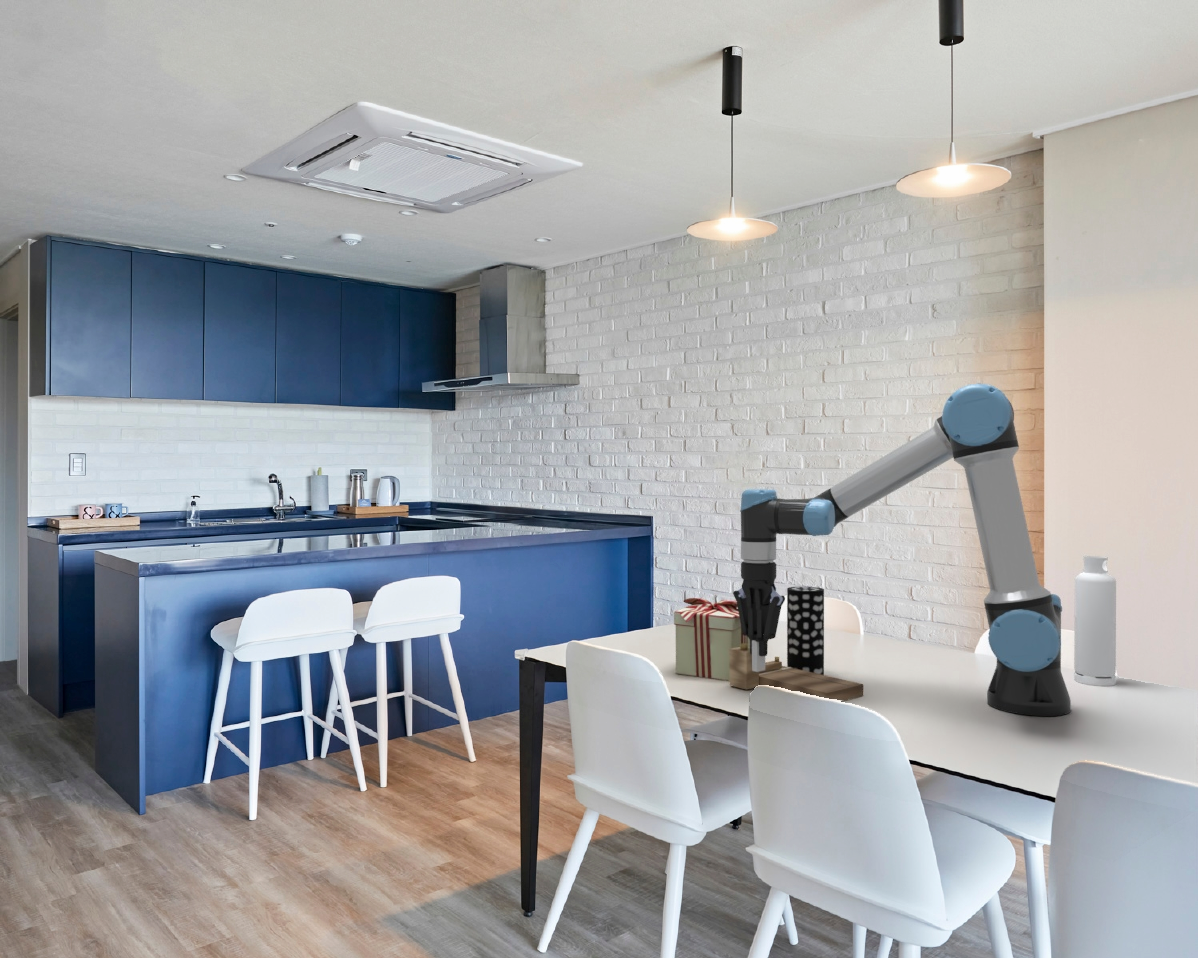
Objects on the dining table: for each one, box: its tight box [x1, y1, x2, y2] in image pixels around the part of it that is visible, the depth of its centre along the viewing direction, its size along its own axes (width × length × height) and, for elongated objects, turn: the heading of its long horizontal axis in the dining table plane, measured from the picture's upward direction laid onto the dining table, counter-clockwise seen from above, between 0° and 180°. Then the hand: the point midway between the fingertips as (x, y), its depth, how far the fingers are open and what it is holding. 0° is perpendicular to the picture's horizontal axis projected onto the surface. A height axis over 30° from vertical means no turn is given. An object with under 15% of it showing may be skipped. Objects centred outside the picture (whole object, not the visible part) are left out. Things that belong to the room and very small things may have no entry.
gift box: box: [673, 597, 750, 682], centre depth 209 cm, size 17×18×17 cm
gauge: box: [728, 643, 783, 691], centre depth 198 cm, size 5×13×9 cm, turn 128°
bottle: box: [1073, 555, 1117, 687], centre depth 199 cm, size 8×8×28 cm
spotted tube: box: [786, 586, 825, 675], centre depth 206 cm, size 8×8×20 cm
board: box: [759, 665, 864, 702], centre depth 193 cm, size 25×12×3 cm, turn 38°
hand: (758, 670), depth 191 cm, fingers closed
